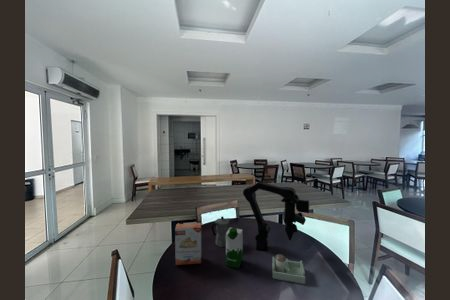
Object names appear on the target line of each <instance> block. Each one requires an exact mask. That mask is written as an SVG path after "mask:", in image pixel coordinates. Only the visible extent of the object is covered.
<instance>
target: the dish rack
mask: <svg viewBox="0 0 450 300" xmlns="http://www.w3.org/2000/svg"><path fill="white" fill-rule="evenodd" d="M271 260H272V264H271V265H272V267H271V268H272V269H271V270H272V279H275V280H280V281H285V282H291V283H292V282H293V283H297V284H303V285H306V276H305V275H306V272H305V267H304V264H303V260H299V261H294V260H289V258H287V257H286V263H285V273H282V272H277V271H276V257H275V256H272V259H271Z"/></svg>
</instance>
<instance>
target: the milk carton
mask: <svg viewBox="0 0 450 300" xmlns="http://www.w3.org/2000/svg"><path fill="white" fill-rule="evenodd" d="M243 232H244V231H243V229H240V228H235V227H229V228H228V231H227V233H226V247H225V265H226V267H231V268H234V269H239V268H240V265H241V264H242V260H243V249H244V248H243V247H244V246H243V243H244V242H243V241H244V239H243Z"/></svg>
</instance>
